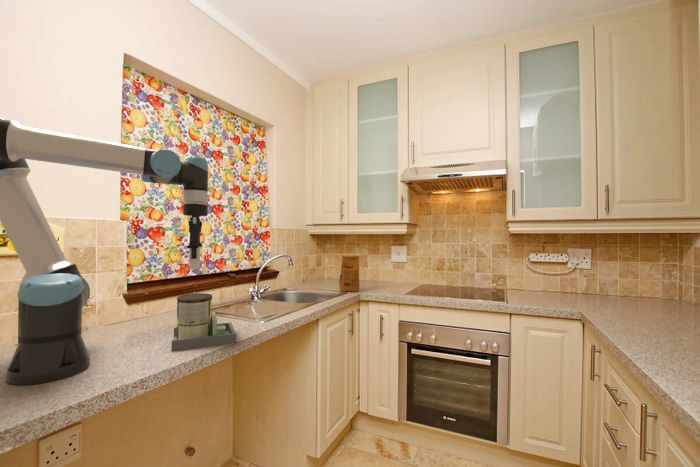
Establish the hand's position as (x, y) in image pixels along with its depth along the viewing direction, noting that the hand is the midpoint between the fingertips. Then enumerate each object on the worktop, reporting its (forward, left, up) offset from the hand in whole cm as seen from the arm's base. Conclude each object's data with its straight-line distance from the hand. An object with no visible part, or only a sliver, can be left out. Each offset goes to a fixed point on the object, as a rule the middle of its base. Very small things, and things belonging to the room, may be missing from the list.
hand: (194, 267), depth 111 cm
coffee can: (0, -6, -23) cm, 24 cm away
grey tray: (+3, -6, -23) cm, 24 cm away
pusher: (+7, -6, -23) cm, 24 cm away
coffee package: (+88, +63, -23) cm, 111 cm away
